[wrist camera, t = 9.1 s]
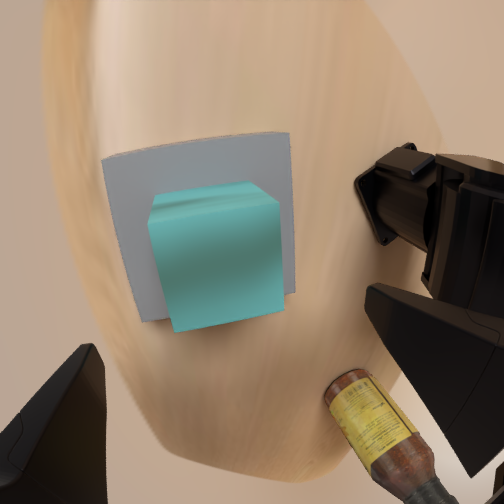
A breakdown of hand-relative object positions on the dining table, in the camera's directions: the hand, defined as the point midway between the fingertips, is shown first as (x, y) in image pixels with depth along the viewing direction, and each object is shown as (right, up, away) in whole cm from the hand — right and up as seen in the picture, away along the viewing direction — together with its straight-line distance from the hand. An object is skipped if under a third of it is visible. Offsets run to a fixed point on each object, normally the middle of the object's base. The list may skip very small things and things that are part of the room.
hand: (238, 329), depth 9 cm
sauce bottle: (+11, -13, +22) cm, 28 cm away
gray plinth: (-3, +5, +10) cm, 12 cm away
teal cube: (-2, +3, +8) cm, 9 cm away
